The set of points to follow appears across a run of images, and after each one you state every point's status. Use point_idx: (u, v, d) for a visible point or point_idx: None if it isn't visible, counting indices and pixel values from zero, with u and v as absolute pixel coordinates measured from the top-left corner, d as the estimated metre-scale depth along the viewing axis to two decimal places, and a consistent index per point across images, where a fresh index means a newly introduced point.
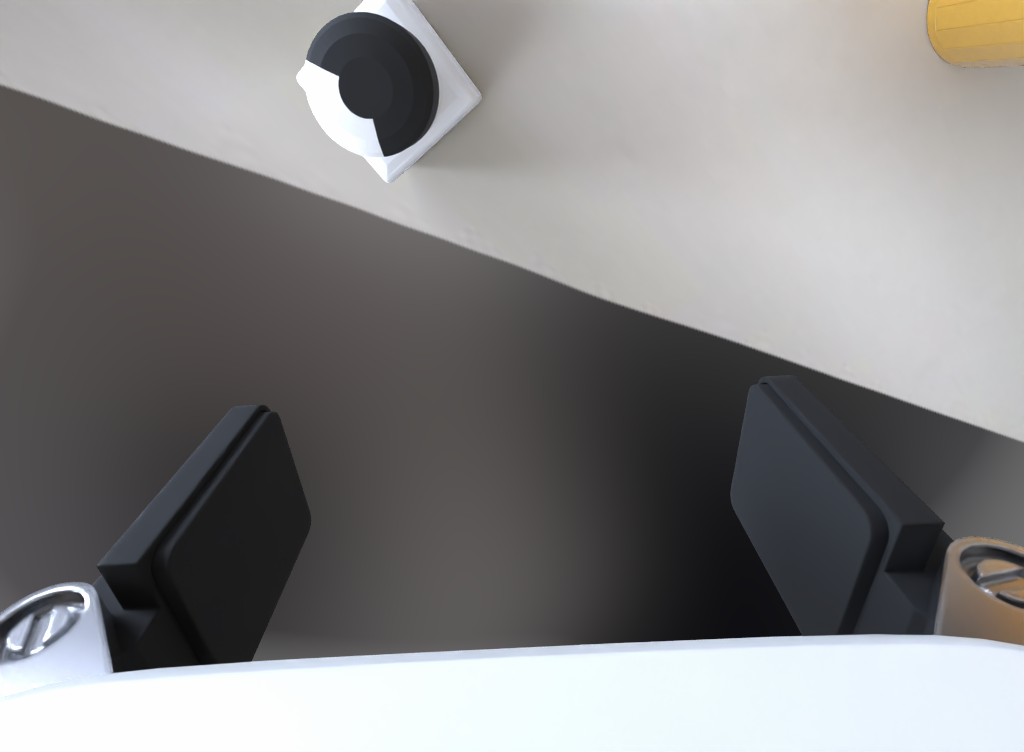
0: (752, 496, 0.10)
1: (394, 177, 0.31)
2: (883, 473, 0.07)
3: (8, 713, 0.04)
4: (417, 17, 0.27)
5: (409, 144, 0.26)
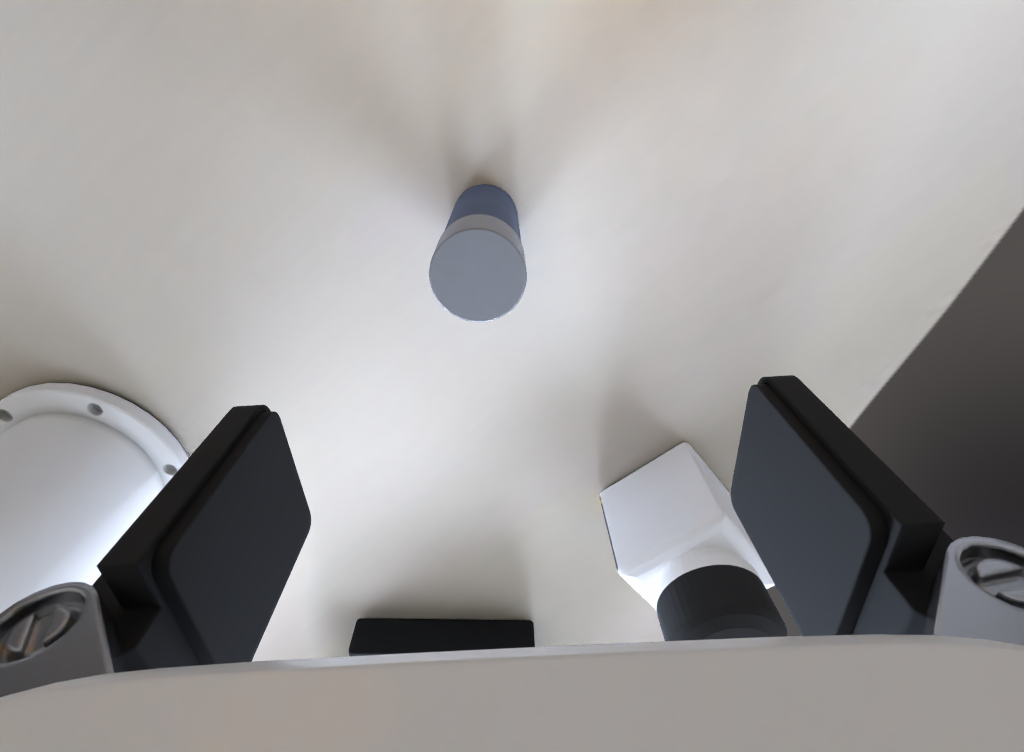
0: (752, 496, 0.10)
1: None
2: (883, 473, 0.07)
3: (8, 713, 0.04)
4: (648, 553, 0.30)
5: (782, 623, 0.26)
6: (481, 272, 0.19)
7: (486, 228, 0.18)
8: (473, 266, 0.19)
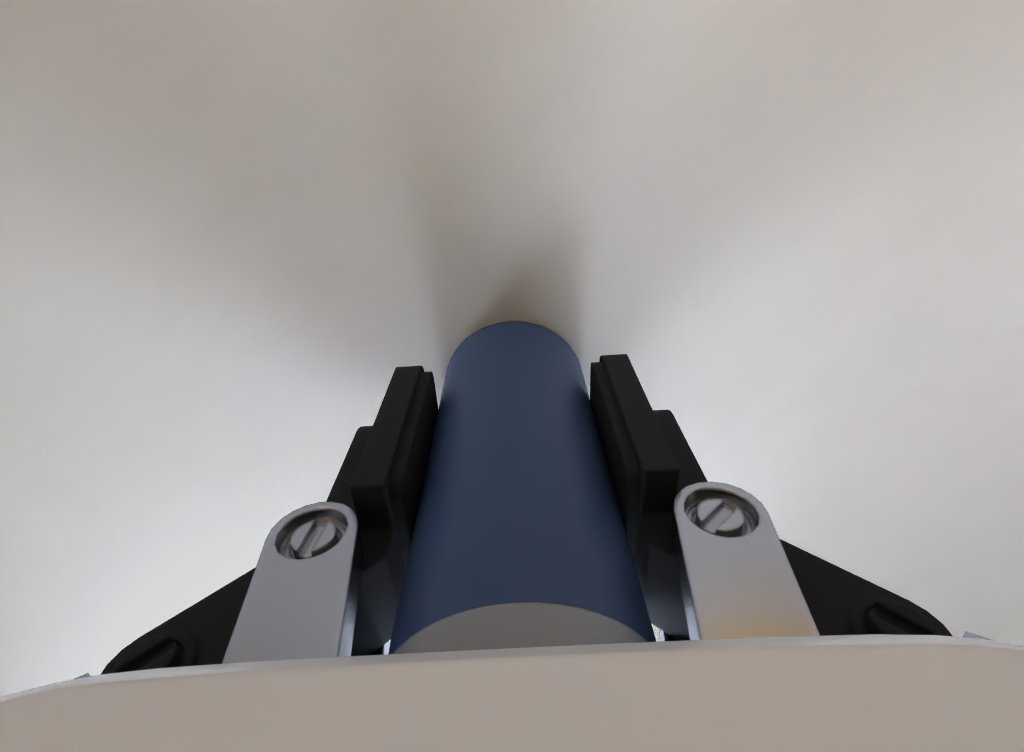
0: None
1: None
2: (652, 431, 0.08)
3: (8, 713, 0.04)
4: None
5: None
6: None
7: None
8: None
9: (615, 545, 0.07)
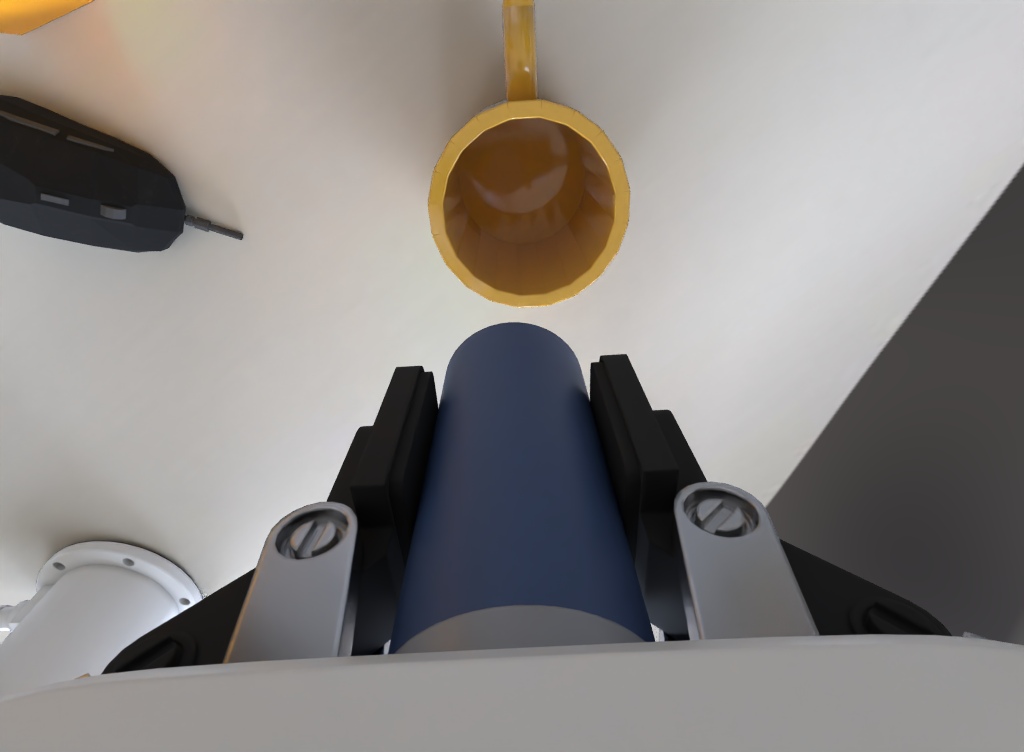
0: None
1: None
2: (652, 432, 0.08)
3: (8, 713, 0.04)
4: None
5: None
6: None
7: None
8: None
9: (615, 547, 0.07)
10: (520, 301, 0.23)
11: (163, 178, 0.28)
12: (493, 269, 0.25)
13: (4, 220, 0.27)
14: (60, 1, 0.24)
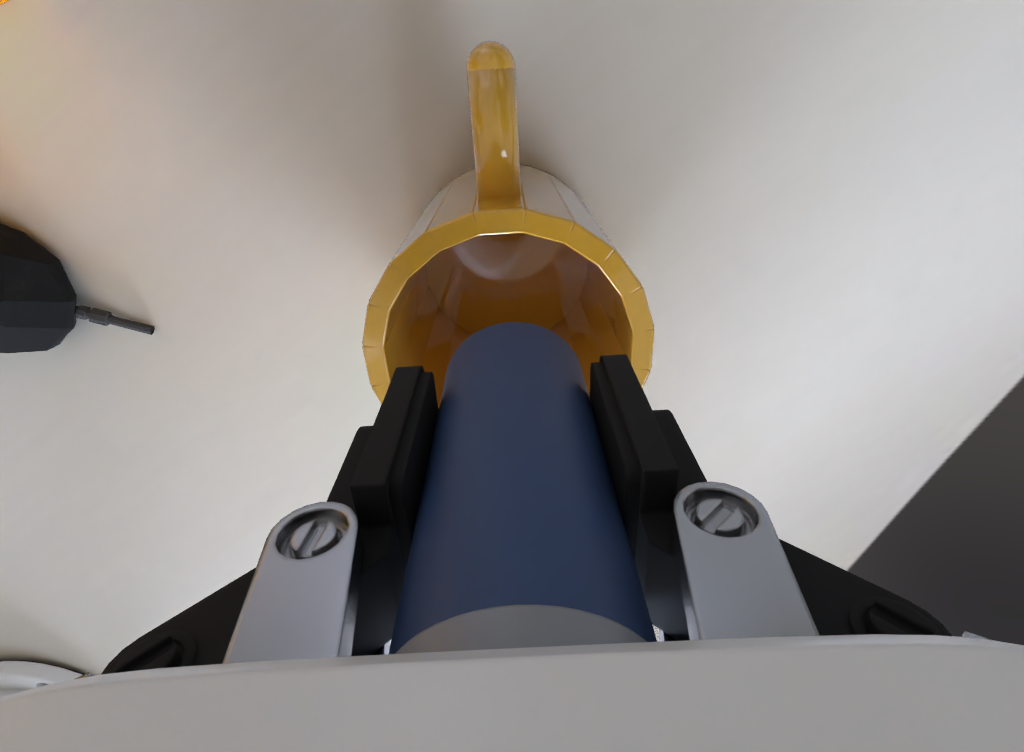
0: None
1: None
2: (652, 431, 0.08)
3: (8, 713, 0.04)
4: None
5: None
6: None
7: None
8: None
9: (616, 547, 0.07)
10: None
11: (41, 265, 0.22)
12: None
13: None
14: None
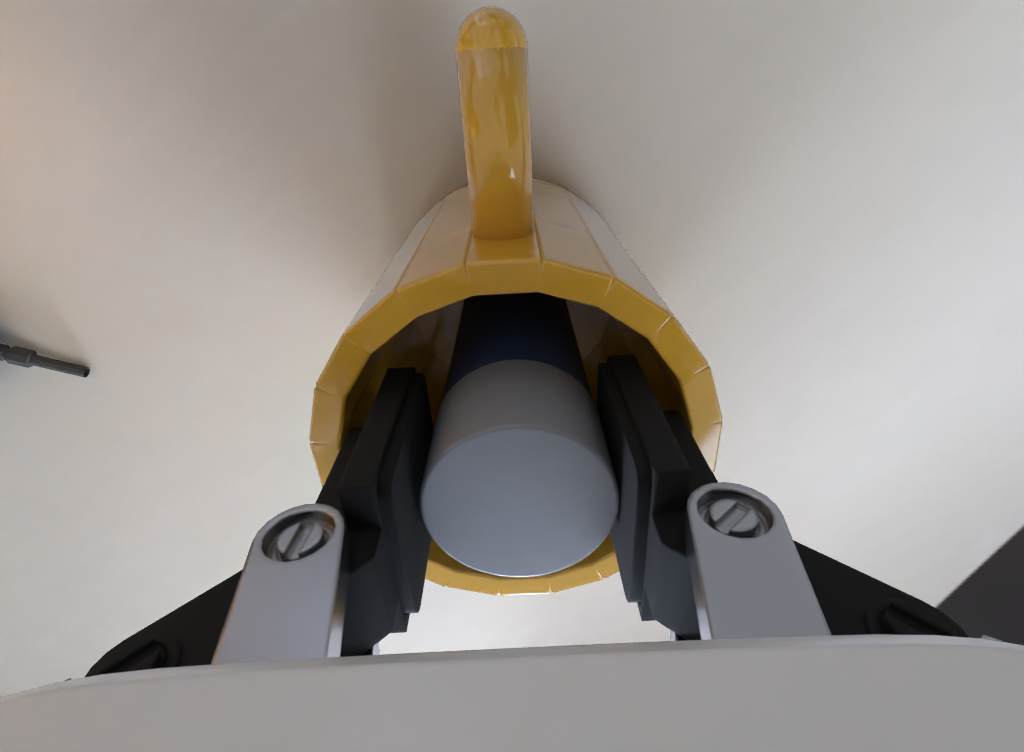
0: None
1: None
2: (662, 432, 0.08)
3: (8, 713, 0.04)
4: None
5: None
6: (527, 497, 0.09)
7: (542, 423, 0.08)
8: (512, 491, 0.09)
9: (572, 355, 0.12)
10: (501, 586, 0.12)
11: None
12: None
13: None
14: None
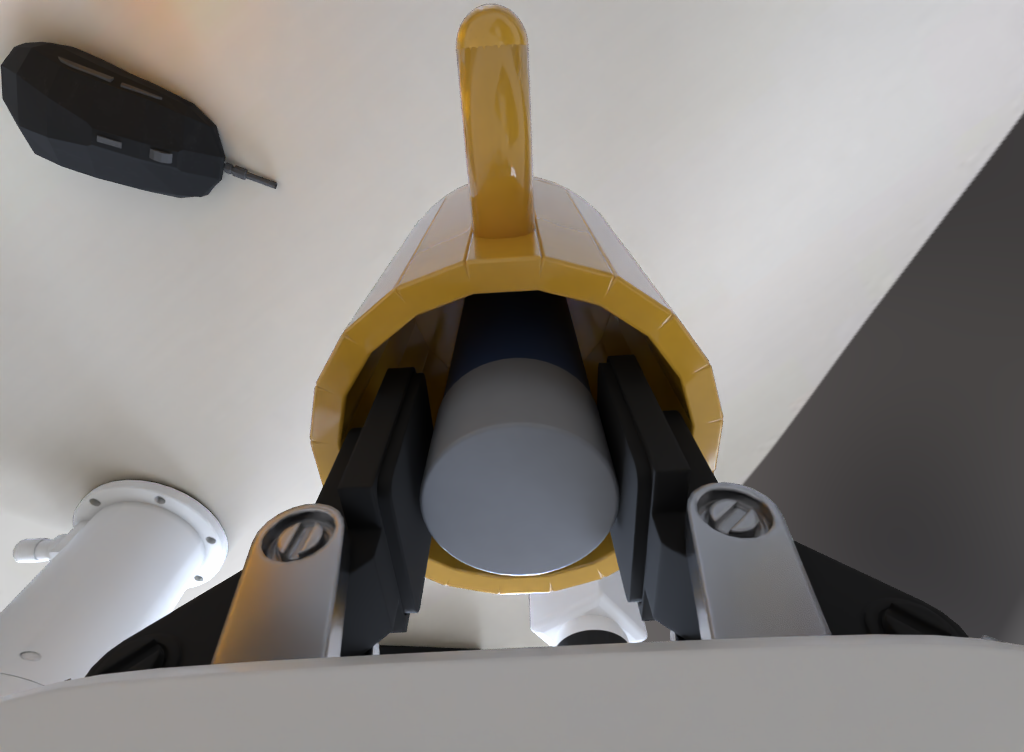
0: None
1: (644, 634, 0.43)
2: (662, 432, 0.08)
3: (8, 713, 0.04)
4: (551, 617, 0.42)
5: None
6: (527, 495, 0.09)
7: (542, 422, 0.08)
8: (512, 490, 0.09)
9: (572, 354, 0.12)
10: (501, 585, 0.12)
11: (206, 126, 0.30)
12: None
13: (61, 162, 0.29)
14: None
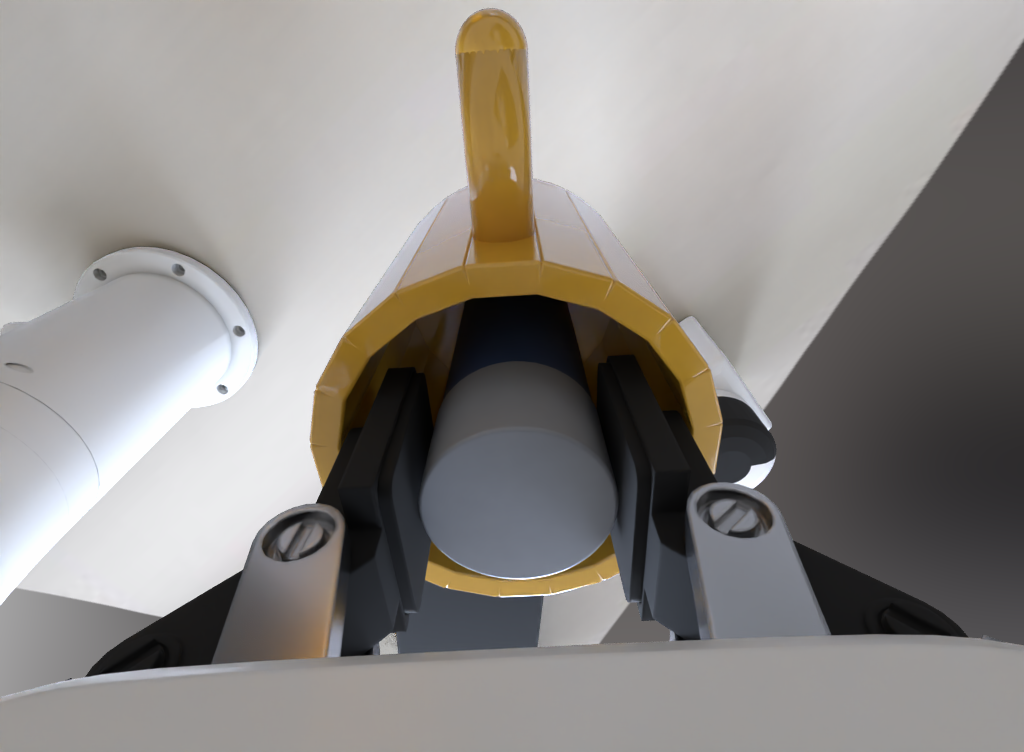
0: None
1: (769, 422, 0.36)
2: (662, 432, 0.08)
3: (8, 713, 0.04)
4: None
5: (772, 438, 0.31)
6: (526, 499, 0.09)
7: (541, 426, 0.08)
8: (510, 493, 0.09)
9: (572, 357, 0.12)
10: (501, 587, 0.12)
11: None
12: None
13: None
14: None
